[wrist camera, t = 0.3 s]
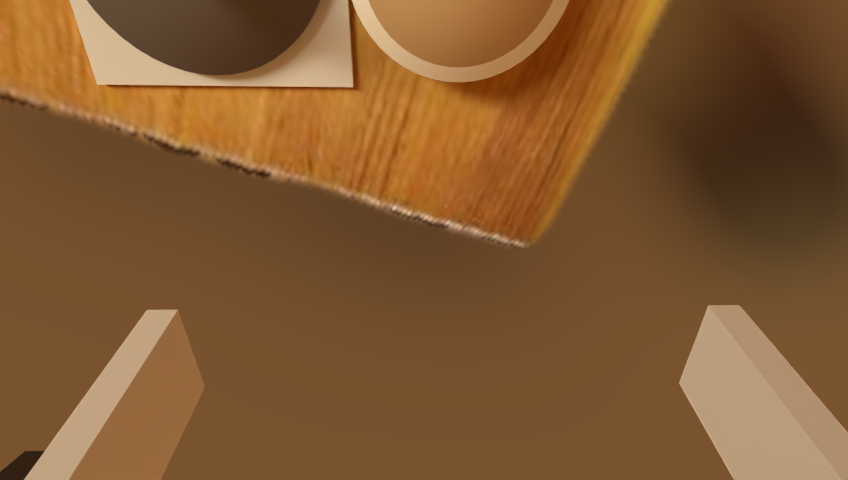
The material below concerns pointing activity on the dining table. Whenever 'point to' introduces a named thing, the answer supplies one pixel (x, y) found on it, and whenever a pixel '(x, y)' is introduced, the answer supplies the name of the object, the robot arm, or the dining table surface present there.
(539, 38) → the bowl
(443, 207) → the dining table surface
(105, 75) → the mat
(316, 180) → the dining table surface
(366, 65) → the dining table surface
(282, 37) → the lid
